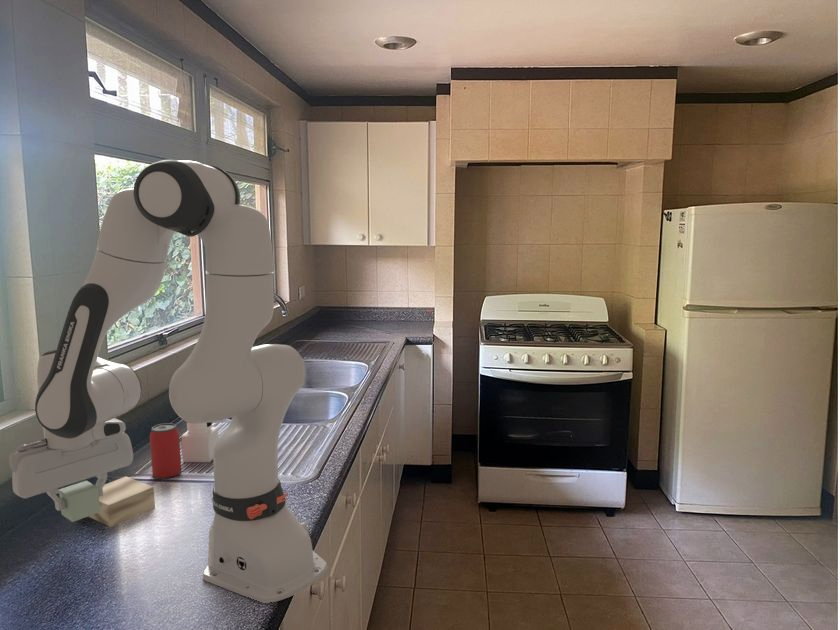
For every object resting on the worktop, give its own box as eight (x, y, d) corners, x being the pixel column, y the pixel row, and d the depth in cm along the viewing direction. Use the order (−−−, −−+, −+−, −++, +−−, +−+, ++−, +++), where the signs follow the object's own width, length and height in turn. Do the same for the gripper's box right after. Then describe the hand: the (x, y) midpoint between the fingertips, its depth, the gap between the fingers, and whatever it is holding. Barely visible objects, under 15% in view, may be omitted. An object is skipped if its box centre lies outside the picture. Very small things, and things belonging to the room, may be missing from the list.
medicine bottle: (193, 451, 163) (190, 408, 161) (219, 452, 163) (217, 408, 161) (182, 462, 156) (179, 417, 154) (210, 462, 156) (207, 417, 154)
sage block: (100, 511, 117) (97, 486, 116) (72, 522, 113) (69, 496, 112) (89, 504, 120) (86, 480, 119) (61, 514, 116) (58, 489, 115)
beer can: (172, 466, 154) (169, 420, 152) (186, 473, 150) (183, 426, 148) (147, 474, 149) (143, 427, 147) (161, 482, 145) (157, 433, 143)
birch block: (155, 508, 132) (153, 486, 132) (110, 528, 124) (108, 505, 123) (127, 497, 138) (126, 476, 137) (83, 515, 129) (81, 493, 129)
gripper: (13, 452, 104) (23, 529, 106) (133, 421, 120) (140, 488, 122) (1, 445, 108) (11, 518, 110) (118, 415, 124) (125, 480, 126)
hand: (79, 502), depth 116 cm, fingers closed on sage block, 5 cm apart
